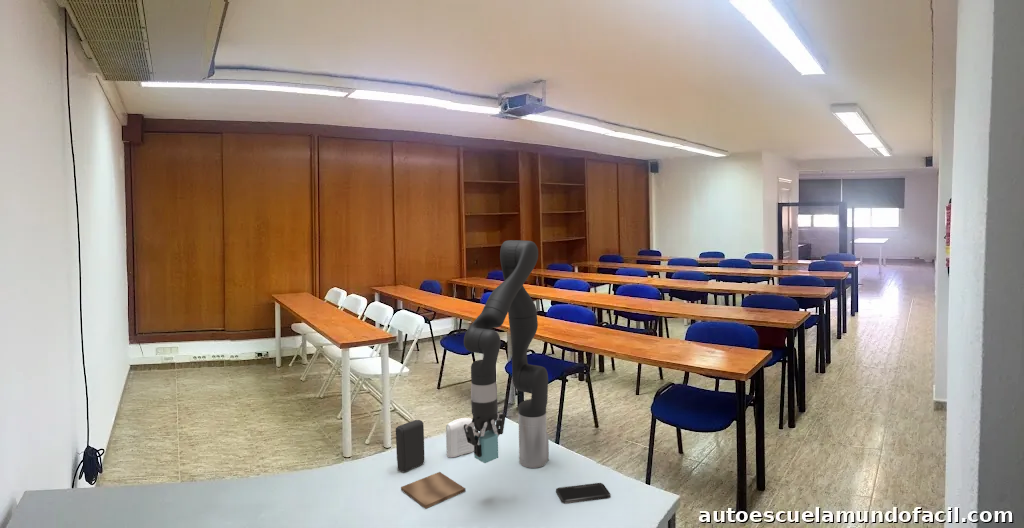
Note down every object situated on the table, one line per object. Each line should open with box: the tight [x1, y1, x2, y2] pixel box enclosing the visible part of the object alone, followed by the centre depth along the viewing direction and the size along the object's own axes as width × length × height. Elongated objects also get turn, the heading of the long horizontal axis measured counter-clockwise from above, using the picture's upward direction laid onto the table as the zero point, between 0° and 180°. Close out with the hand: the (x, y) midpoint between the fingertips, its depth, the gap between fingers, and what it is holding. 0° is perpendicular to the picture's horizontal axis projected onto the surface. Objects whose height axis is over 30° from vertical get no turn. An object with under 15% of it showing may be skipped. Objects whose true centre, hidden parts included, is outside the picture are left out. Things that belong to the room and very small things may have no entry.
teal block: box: [473, 431, 499, 464], centre depth 157 cm, size 5×5×7 cm
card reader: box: [395, 419, 425, 473], centre depth 179 cm, size 9×4×15 cm, turn 136°
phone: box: [555, 482, 611, 505], centre depth 161 cm, size 8×1×15 cm
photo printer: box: [445, 417, 475, 458], centre depth 189 cm, size 10×4×12 cm, turn 123°
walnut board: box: [400, 471, 466, 510], centre depth 164 cm, size 14×14×1 cm
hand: (486, 452), depth 158 cm, fingers closed on teal block, 5 cm apart
